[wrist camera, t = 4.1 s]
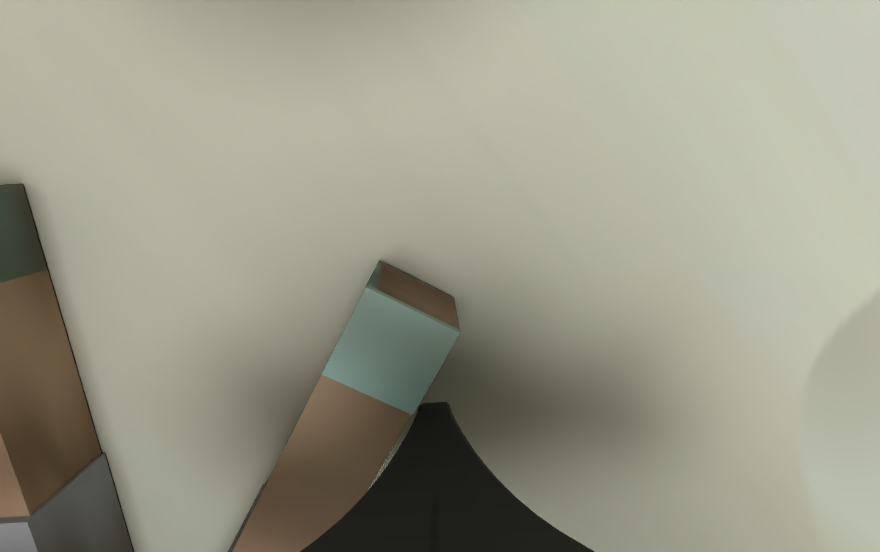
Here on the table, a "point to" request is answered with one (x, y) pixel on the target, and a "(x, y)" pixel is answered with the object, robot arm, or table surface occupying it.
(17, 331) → the tongs fixed arm
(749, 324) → the table surface
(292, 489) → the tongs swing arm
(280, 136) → the table surface
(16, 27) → the table surface
